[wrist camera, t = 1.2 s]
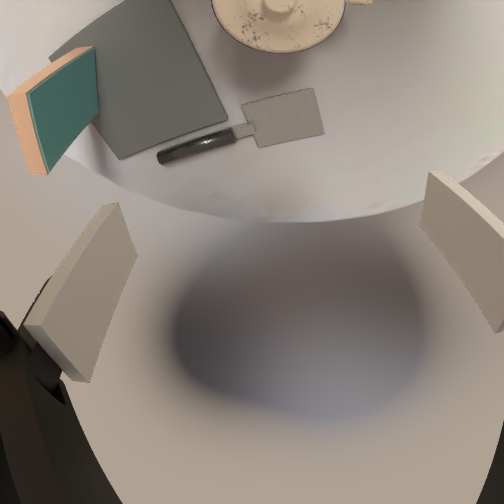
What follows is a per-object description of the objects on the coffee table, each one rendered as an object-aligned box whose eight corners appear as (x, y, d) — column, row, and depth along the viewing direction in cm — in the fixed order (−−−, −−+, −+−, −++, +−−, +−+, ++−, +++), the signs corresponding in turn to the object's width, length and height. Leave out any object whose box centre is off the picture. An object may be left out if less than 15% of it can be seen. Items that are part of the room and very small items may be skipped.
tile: (82, 112, 29) (30, 174, 22) (76, 47, 22) (7, 95, 15) (99, 112, 29) (49, 175, 22) (95, 45, 22) (27, 92, 15)
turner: (173, 170, 38) (170, 179, 37) (151, 136, 33) (146, 144, 32) (324, 132, 32) (326, 140, 31) (312, 87, 27) (314, 94, 26)
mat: (51, 55, 22) (48, 57, 22) (160, -19, 17) (158, -18, 17) (120, 157, 36) (119, 159, 35) (228, 117, 31) (227, 119, 31)
